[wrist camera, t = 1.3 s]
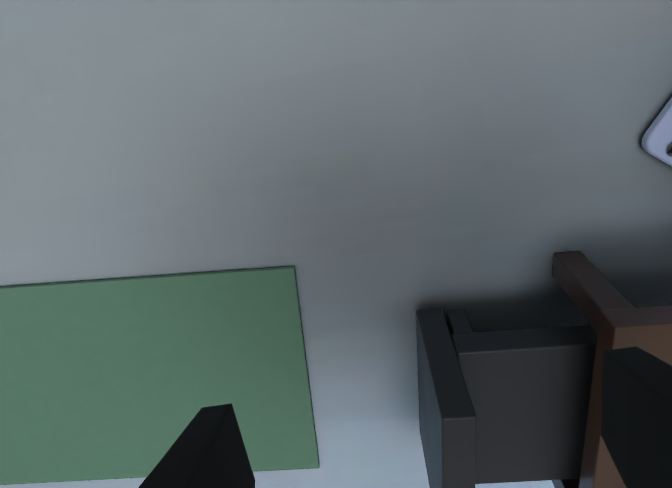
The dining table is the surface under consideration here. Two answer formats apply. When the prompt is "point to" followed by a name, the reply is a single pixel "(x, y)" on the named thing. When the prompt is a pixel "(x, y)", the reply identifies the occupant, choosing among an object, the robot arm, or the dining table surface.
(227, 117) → the dining table surface
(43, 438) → the mat
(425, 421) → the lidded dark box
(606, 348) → the table
